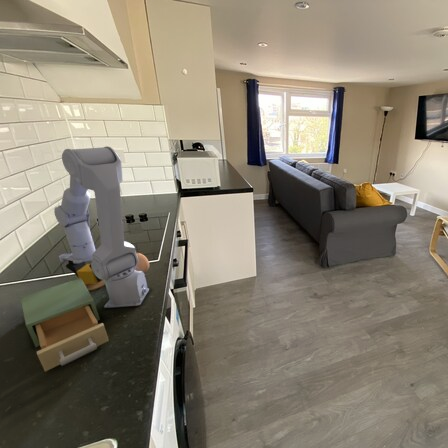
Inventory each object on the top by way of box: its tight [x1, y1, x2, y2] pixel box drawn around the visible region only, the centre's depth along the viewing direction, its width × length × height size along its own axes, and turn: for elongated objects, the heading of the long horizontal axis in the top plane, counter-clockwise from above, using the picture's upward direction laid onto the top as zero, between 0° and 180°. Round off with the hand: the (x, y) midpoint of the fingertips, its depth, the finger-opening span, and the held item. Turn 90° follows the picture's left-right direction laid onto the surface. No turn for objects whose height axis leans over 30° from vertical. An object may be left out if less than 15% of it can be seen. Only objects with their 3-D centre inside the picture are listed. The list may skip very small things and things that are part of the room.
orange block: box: [77, 263, 98, 284], centre depth 84 cm, size 5×5×5 cm
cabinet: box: [19, 278, 101, 348], centre depth 69 cm, size 15×13×7 cm
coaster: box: [84, 280, 106, 292], centre depth 85 cm, size 9×9×1 cm
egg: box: [135, 252, 150, 275], centre depth 89 cm, size 7×7×8 cm
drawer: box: [35, 305, 110, 372], centre depth 61 cm, size 18×11×5 cm, turn 48°
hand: (92, 280), depth 85 cm, fingers closed on orange block, 4 cm apart
